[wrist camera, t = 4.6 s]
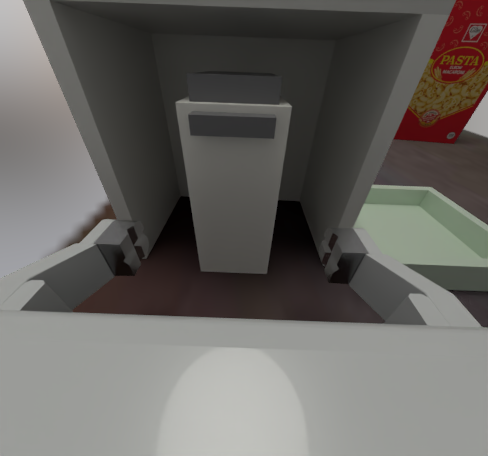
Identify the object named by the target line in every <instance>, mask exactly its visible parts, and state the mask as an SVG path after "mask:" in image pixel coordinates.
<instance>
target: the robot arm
mask: <svg viewBox="0 0 488 456" xmlns="http://www.w3.org/2000/svg"><path fill="white" fill-rule="evenodd" d="M143 230H144V227H143V224H142V222H140V221H131V220H110V219H105V220H102V221H101V222H100V223H99V224H98V225H97V226H96V227H95V228H94V229H93V230H92V231H91V232H90V233H89V234H88V235H87V236H86V237H85V238H84V239H83V240H82V241H81V242H80V243H79V244H73V245H71V246H69V247H67V248H65V249H63V250H60V251H58V252H56V253H54V254H52V255H50V256H48V257H45V258H43V259H41V260H39V261H37V262H35V263H32V264H30V265H28V266H26V267H24V268H22V269H20V270H17V271H16V272H13V273H11V274H9V275H7V276H4V277H2V278H1V279H0V456H488V328H485V327H482V326H481V325H480V324H479V323H478V322H477V321H476V320H475V318H474V317H473V316H472V315H471V314H470V313H469V312H468V310H467V309H466V308H465V307H464V306H463V305H462V304H461V303H460V301H459V300H458V299H457V298H456V297H455V296H454V295H453V294H452V293H450V292H449V291H447V290H445V289H444V288H442V287H440V286H439V285H437V284H435V283H434V282H432V281H430V280H429V279H427V278H425V277H424V276H422V275H420V274H418V273H417V272H415V271H413V270H412V269H410V268H408V267H407V266H405V265H403V264H402V263H400V262H398V261H397V260H395V259H393V258H392V257H390V256H388V255H385V254H382V252H381V251H380V249H379V248H378V247H377V245H376V244H375V242H374V241H373V239H372V238H371V237H370V235H369V234H368V232H367V231H366V230H365V229H363V228H327V229H326V230H325V233H324V236H325V240H324V241H322V242H321V245H320V249H319V255H320V260H321V263H322V264H324V265H325V266H326V267H325V270H324V271H325V274H326V277H327V279H328V282H329V283H340V284H349V286H350V287H351V288H352V289H353V290H354V291H355V292H356V293H357V294H358V295H359V296H360V297H361V298H362V299H363V300H364V301H365V302H366V303H367V304H369V305H370V306H371V307H372V308H373V309H374V310H375V311H376V312H377V313H378V314H379V315H380V316H381V317H382V318H383V319H384V320H385V322H384V323H383V324H376V323H349V322H321V321H293V320H264V319H236V318H209V317H183V316H156V315H129V314H101V313H74V312H73V311H72V310H73V309H74V308H75V307H77V306H78V305H79V304H80V303H82V302H83V301H84V300H85V299H87V298H88V297H89V296H91V295H92V294H93V293H94V292H96V291H97V290H98V289H99V288H101V287H102V286H103V285H105V284H106V283H107V282H108V281H110V280H111V279H112V278H114V276H135V274H136V272H137V270H138V269H139V267H140V265H141V263H140V260H141V259H142V258H144V257H145V256H146V254H147V252H148V247H149V242H148V238H147V236H146V235H145V234H144V233H142V232H143Z"/></svg>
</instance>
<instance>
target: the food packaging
mask: <svg viewBox="0 0 488 456" xmlns="http://www.w3.org/2000/svg"><path fill="white" fill-rule="evenodd" d="M487 91H488V0H456V2H455V4H454V6H453V8H452V10H451V13H450V15H449V17H448V19H447V21H446V24H445V26H444V28H443V30H442V33H441V35H440V37H439V39H438V41H437V44H436V46H435V48H434V50H433V52H432V55H431V57H430V59H429V61H428V63H427V66H426V68H425V70H424V72H423V74H422V77H421V79H420V81H419V83H418V86H417V88H416V90H415V92H414V94H413V97H412V99H411V101H410V103H409V105H408V108H407V110H406V112H405V114H404V116H403V119H402V121H401V123H400V125H399V127H398V130H397V132H396V134H395V136H394V138H393V139H401V140H413V141H426V142H439V143H452V144H454V143H455V141H456V140H457V138H458V137H459V135H460V133H461V132H462V130H463V129H464V127H465V126H466V124H467V122H468V121H469V119H470V118H471V116H472V114H473V113H474V111H475V109H476V108H477V107H478V105H479V103H480V102H481V100H482V99H483V97H484V96H485V94H486V92H487Z"/></svg>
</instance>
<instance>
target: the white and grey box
mask: <svg viewBox="0 0 488 456" xmlns="http://www.w3.org/2000/svg"><path fill="white" fill-rule="evenodd" d="M186 74H187V83H188V92H189V96H188V97H186V98H184V99H182V100H179V101H177V102H175V105H176V111H177V118H178V124H179V131H180V138H181V144H182V151H183V157H184V164H185V171H186V177H187V184H188V190H189V197H190V203H191V210H192V217H193V223H194V230H195V236H196V243H197V250H198V256H199V263H200V269H201V271H205V272H230V273H254V274H267V270H268V263H269V256H270V250H271V243H272V236H273V230H274V223H275V217H276V210H277V203H278V197H279V190H280V183H281V177H282V170H283V164H284V157H285V150H286V144H287V137H288V131H289V124H290V117H291V111H292V106H291V105H290V104H289V103H288V102H287V101H286V100H285V99H284V98H283V97H282V96H281V95H280V93H281V84H282V77H281V76H278V75H275V74H272V73H252V72H226V71H204V72H195V73H186Z"/></svg>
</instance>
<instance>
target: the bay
mask: <svg viewBox="0 0 488 456" xmlns="http://www.w3.org/2000/svg"><path fill="white" fill-rule="evenodd" d="M23 1H24V4H25V6H26V8H27V11H28V13H29V15H30V17H31V20H32V22H33V25H34V27H35V29H36V31H37V34H38V36H39V38H40V41H41V43H42V45H43V48H44V50H45V52H46V55H47V57H48V59H49V61H50V64H51V66H52V68H53V71H54V73H55V76H56V78H57V80H58V82H59V85H60V87H61V89H62V92H63V94H64V97H65V99H66V101H67V103H68V106H69V108H70V110H71V113H72V115H73V118H74V120H75V122H76V124H77V127H78V129H79V131H80V134H81V136H82V138H83V141H84V143H85V145H86V148H87V150H88V152H89V155H90V157H91V159H92V161H93V164H94V166H95V169H96V171H97V173H98V176H99V178H100V180H101V182H102V185H103V187H104V190H105V192H106V194H107V197H108V199H109V201H110V204H111V206H112V208H113V211H114V213H115V215H116V217H117V220H131V221H140V222H142V224H143V227H144V230H143V232H142V233H144V234H145V235H146V236H147V238H148V242H149V247H148V252H147V254H146V256H145V257H144V258H142V259H147V257H148V255H149V253H150V252H151V250H152V248H153V246H154V244H155V242H156V240H157V239H158V237H159V235H160V233H161V231H162V229H163V228H164V226H165V224H166V222H167V220H168V218H169V217H170V215H171V213H172V211H173V209H174V207H175V205H176V204H177V202H178V200H179V198H180V196H186V197H189V190H188V184H187V177H186V171H185V164H184V157H183V151H182V144H181V138H180V131H179V124H178V118H177V111H176V105H175V102H177V101H179V100H182V99H184V98H186V97H188V96H189V92H188V83H187V74H186V73H195V72H204V71H226V72H252V73H272V74H275V75H278V76H281V77H282V84H281V93H280V95H281V96H282V97H283V98H284V99H285V100H286V101H287V102H288V103H289V104H290V105H291V106H292V111H291V117H290V124H289V131H288V137H287V144H286V150H285V157H284V164H283V170H282V177H281V183H280V190H279V197H278V200H285V201H300V204H301V206H302V209H303V212H304V215H305V218H306V220H307V223H308V226H309V229H310V231H311V234H312V237H313V240H314V243H315V245H316V248H317V251H318V254H319V249H320V245H321V242H322V241H324V240H325V236H324V233H325V230H326V229H327V228H353V227H354V225H355V222H356V220H357V218H358V216H359V214H360V211H361V209H362V207H363V205H364V203H365V200H366V198H367V196H368V194H369V191H370V189H371V187H372V185H373V183H374V180H375V178H376V176H377V174H378V172H379V169H380V167H381V165H382V163H383V161H384V158H385V156H386V154H387V152H388V150H389V147H390V145H391V143H392V141H393V138H394V136H395V134H396V132H397V130H398V127H399V125H400V123H401V121H402V119H403V116H404V114H405V112H406V110H407V108H408V105H409V103H410V101H411V99H412V97H413V94H414V92H415V90H416V88H417V86H418V83H419V81H420V79H421V77H422V74H423V72H424V70H425V68H426V66H427V63H428V61H429V59H430V57H431V55H432V52H433V50H434V48H435V46H436V44H437V41H438V39H439V37H440V35H441V33H442V30H443V28H444V26H445V24H446V21H447V19H448V17H449V15H450V13H451V10H452V8H453V6H454V4H455V2H456V0H23ZM319 257H320V255H319ZM322 265H323V266H325V265H324V264H322Z"/></svg>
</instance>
